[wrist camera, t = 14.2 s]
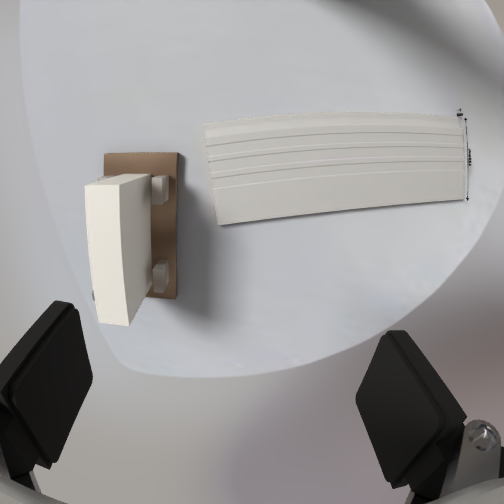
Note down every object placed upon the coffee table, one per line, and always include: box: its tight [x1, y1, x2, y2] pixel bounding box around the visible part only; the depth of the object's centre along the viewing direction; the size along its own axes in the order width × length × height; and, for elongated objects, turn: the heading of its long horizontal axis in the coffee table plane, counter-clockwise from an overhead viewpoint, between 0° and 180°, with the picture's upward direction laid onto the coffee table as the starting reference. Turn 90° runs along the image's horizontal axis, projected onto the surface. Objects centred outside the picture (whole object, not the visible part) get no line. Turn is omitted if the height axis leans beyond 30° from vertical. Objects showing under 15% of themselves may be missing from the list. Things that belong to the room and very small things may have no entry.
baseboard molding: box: [204, 109, 471, 225], centre depth 30 cm, size 31×3×12 cm
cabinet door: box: [85, 174, 153, 326], centre depth 27 cm, size 12×4×9 cm, turn 176°
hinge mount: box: [98, 153, 179, 299], centre depth 30 cm, size 16×8×4 cm, turn 176°
